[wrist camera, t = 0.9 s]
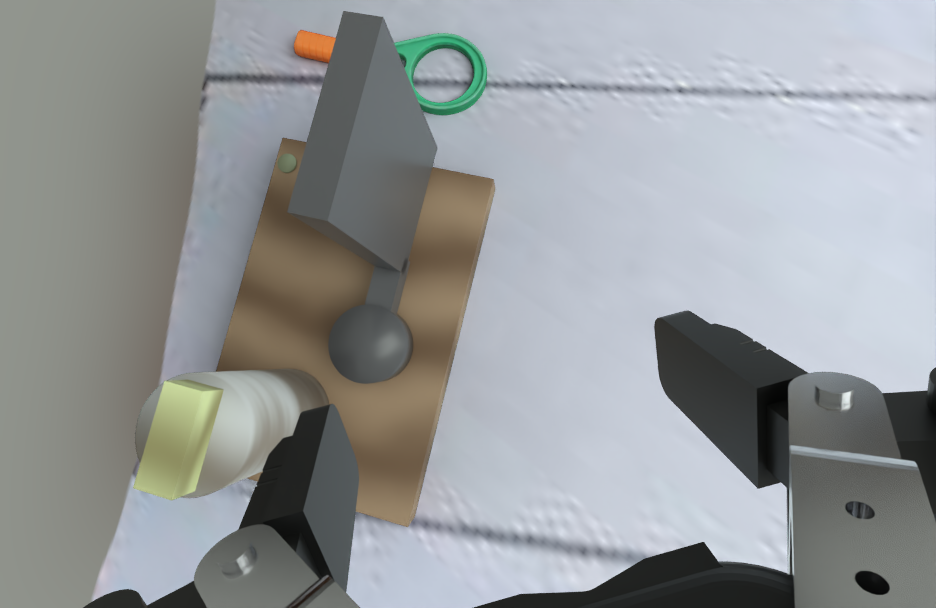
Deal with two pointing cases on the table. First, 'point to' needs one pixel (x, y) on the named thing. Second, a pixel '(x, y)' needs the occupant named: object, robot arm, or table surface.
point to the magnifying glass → (412, 63)
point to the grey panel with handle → (367, 188)
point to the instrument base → (320, 353)
